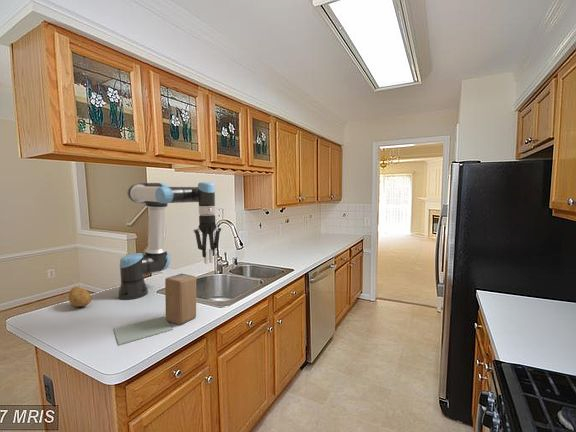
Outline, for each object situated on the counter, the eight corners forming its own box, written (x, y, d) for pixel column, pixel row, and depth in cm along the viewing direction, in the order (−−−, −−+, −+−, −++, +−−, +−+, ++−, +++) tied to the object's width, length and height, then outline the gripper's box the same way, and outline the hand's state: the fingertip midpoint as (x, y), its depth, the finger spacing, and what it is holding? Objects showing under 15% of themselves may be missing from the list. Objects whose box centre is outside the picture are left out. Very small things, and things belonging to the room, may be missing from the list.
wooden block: (164, 320, 130) (164, 277, 128) (182, 313, 139) (181, 272, 137) (180, 325, 125) (179, 281, 124) (197, 317, 134) (197, 275, 133)
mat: (113, 329, 123) (113, 328, 123) (163, 317, 135) (163, 316, 135) (118, 345, 110) (118, 344, 110) (172, 330, 122) (172, 329, 122)
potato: (73, 313, 140) (72, 294, 139) (66, 304, 150) (64, 287, 150) (94, 307, 146) (92, 290, 146) (85, 300, 157) (84, 283, 156)
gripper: (194, 216, 129) (196, 267, 131) (224, 214, 138) (226, 262, 140) (189, 215, 135) (190, 264, 137) (218, 213, 144) (219, 259, 146)
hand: (208, 263), depth 138 cm, fingers open, 2 cm apart
